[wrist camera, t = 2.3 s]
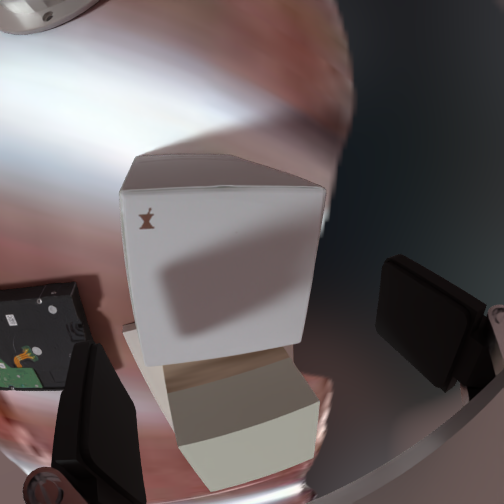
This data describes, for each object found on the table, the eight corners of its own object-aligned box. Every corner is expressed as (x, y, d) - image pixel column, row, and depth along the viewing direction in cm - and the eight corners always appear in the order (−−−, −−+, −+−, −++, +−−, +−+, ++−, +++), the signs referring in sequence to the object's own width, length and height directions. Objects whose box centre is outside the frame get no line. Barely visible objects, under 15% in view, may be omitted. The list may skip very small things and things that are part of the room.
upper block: (167, 393, 20) (178, 446, 16) (290, 357, 23) (319, 401, 19) (198, 450, 25) (211, 491, 20) (292, 421, 27) (313, 457, 23)
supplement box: (136, 253, 22) (138, 372, 11) (134, 154, 19) (114, 183, 8) (230, 247, 24) (303, 347, 13) (235, 154, 22) (332, 184, 11)
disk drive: (76, 275, 21) (-48, 292, 17) (70, 292, 19) (-60, 307, 14) (106, 368, 25) (-8, 375, 21) (106, 389, 23) (-14, 392, 18)
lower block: (160, 352, 25) (167, 393, 20) (267, 322, 27) (290, 357, 23) (188, 414, 29) (198, 450, 25) (273, 389, 31) (292, 421, 27)
